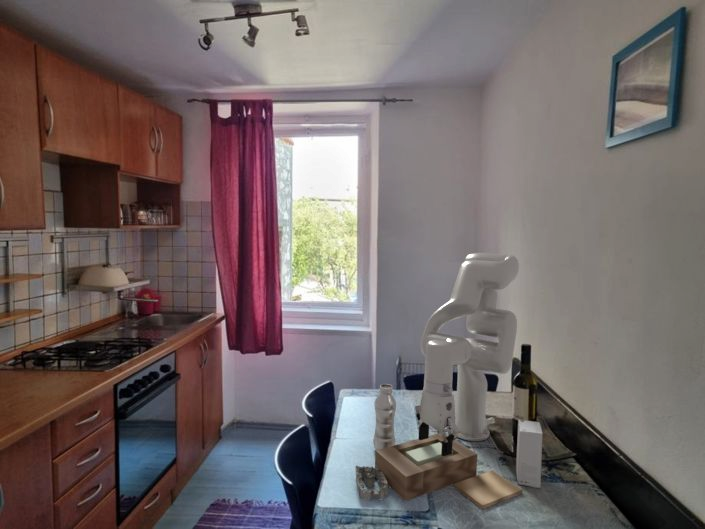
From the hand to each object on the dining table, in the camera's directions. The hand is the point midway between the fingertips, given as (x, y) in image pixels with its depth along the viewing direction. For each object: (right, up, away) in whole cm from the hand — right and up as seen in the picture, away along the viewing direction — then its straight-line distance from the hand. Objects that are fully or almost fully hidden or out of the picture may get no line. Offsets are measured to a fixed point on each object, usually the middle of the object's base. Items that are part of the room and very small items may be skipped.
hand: (434, 446), depth 121 cm
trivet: (+12, -9, -7) cm, 17 cm away
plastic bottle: (-13, -6, +12) cm, 19 cm away
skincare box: (+25, -9, -1) cm, 27 cm away
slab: (-2, -3, 0) cm, 4 cm away
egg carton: (-18, -8, -7) cm, 21 cm away
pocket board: (-3, -7, -1) cm, 8 cm away
